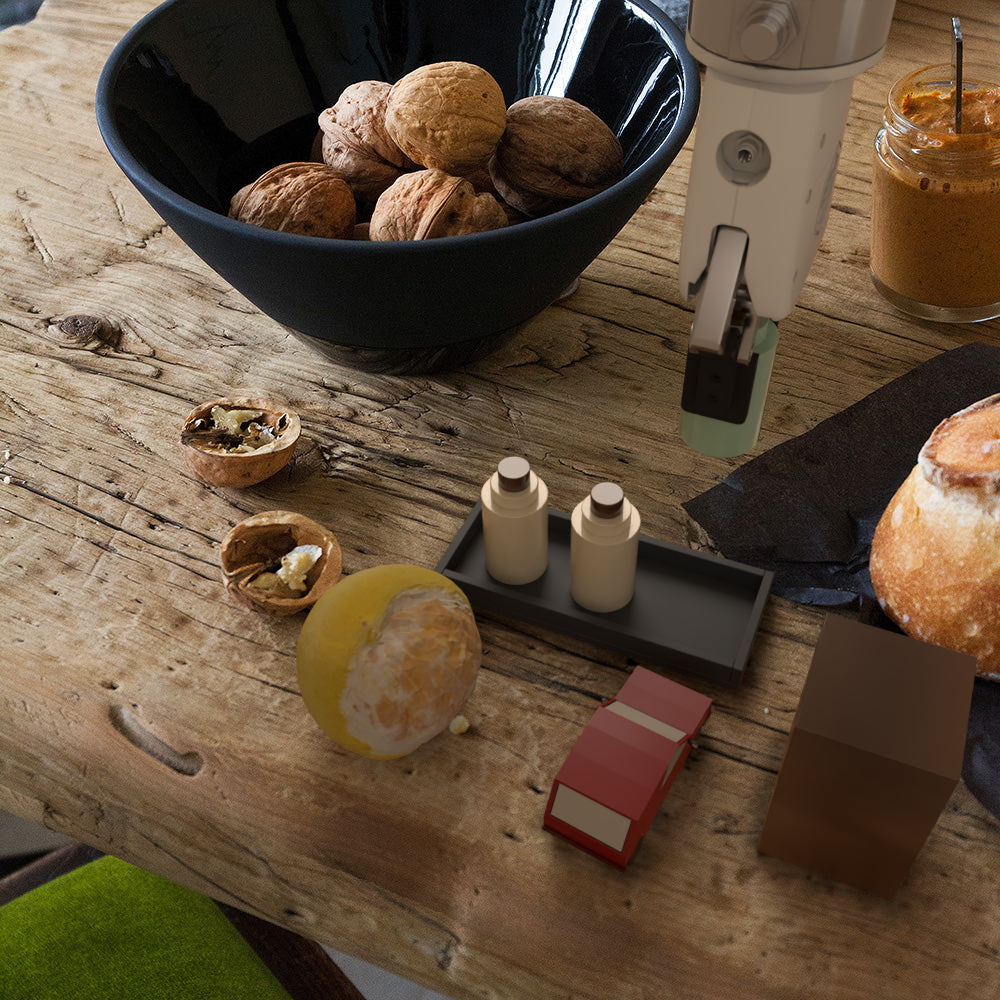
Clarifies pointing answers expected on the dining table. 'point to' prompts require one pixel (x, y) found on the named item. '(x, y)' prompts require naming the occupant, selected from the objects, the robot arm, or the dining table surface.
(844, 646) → the stand
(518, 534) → the bottle far
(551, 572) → the tray
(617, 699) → the toy truck
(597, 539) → the bottle mid
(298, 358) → the dining table surface
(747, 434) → the bottle celadon
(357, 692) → the fruit
